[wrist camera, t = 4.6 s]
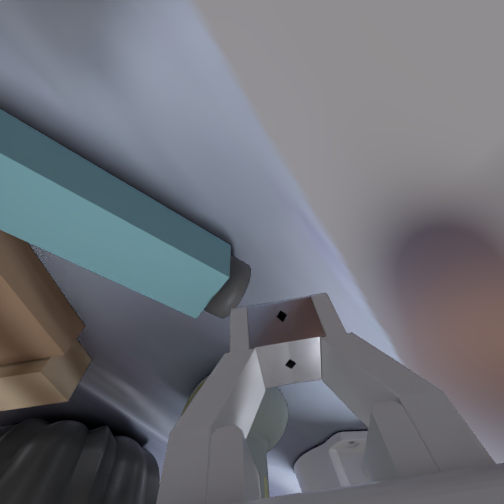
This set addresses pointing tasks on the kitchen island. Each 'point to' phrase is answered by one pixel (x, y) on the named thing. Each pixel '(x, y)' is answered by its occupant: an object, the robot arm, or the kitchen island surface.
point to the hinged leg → (111, 226)
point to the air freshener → (262, 430)
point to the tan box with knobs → (35, 332)
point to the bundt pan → (73, 465)
